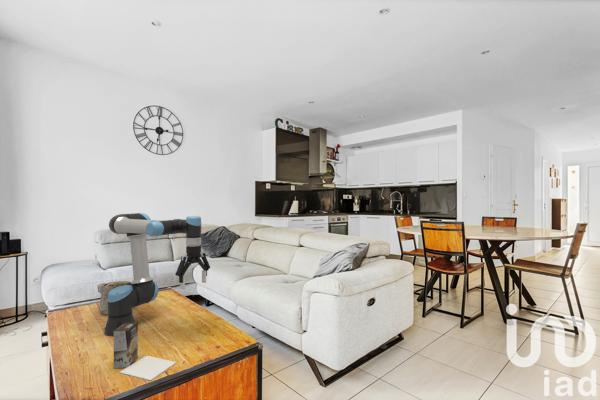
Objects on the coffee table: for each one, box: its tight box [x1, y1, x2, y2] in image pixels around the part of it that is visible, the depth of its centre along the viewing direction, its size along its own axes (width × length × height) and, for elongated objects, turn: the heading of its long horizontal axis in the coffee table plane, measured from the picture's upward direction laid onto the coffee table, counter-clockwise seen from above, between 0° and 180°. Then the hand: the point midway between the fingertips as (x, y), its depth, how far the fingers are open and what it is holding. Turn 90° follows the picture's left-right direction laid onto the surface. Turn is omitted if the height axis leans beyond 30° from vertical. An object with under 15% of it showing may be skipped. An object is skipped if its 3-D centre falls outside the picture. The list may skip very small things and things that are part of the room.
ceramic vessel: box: [96, 280, 132, 316], centre depth 198 cm, size 23×24×25 cm
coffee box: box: [113, 321, 139, 369], centre depth 133 cm, size 9×6×16 cm
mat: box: [119, 355, 177, 382], centre depth 129 cm, size 17×14×1 cm
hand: (193, 285), depth 159 cm, fingers open, 13 cm apart
